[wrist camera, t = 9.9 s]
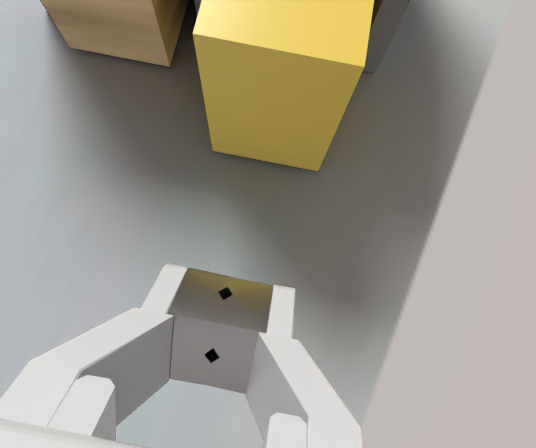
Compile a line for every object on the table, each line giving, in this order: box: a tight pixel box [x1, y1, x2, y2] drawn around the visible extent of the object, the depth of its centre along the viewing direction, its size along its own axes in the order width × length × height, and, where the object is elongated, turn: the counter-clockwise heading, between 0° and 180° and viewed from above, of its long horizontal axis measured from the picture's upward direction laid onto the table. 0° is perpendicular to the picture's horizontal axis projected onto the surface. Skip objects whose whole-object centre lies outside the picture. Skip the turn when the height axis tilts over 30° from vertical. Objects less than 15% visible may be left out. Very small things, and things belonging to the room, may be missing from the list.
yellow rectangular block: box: [193, 0, 374, 171], centre depth 17 cm, size 8×5×8 cm, turn 169°
